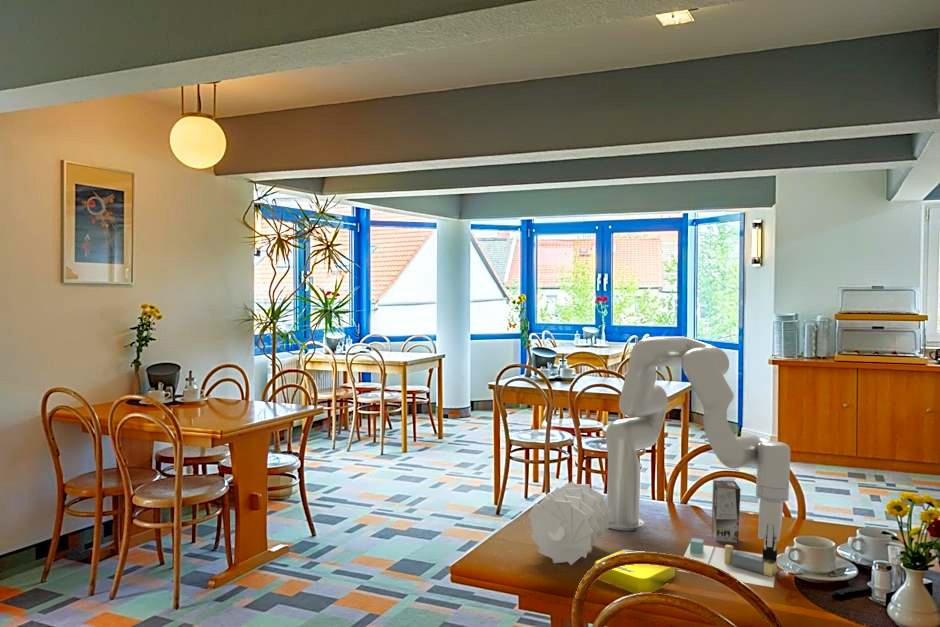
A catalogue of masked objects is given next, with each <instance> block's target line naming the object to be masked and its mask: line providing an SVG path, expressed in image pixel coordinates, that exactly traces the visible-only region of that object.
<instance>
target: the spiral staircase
mask: <svg viewBox="0 0 940 627" xmlns="http://www.w3.org/2000/svg"><path fill="white" fill-rule="evenodd" d="M604 497H605V495H604V494H602V493H600V492H599V491H598V490H595V489H594V488H592V487H591V485H590V484H587V483H584V484H583V483H581V484H580V483H575V482H574V481H573V480H571V481H570V482H568V483H567V484H565V485H563V486H562V487H559V486H556V487H555V489H554V491H553V493H552V494H551V493H550V492H547V493H546V496H544V498H543V499H542V500H541V502H540V504H538V503H537V502H535V503H534V504H533V507H532V508H531V509H530V512H529V514H528V515H527V517H528V518H529V519H530V523H531V527H532V532H531V533H530V535H529V536H530V537H531V539H532V540H533V541H534V542H535V544H536V545H537V546H538V548H539V549H538V552H537V553H538V554H541V555H544V556H545V557H547V558H550V559H552V564H560V563H568V564H569V565H570V566H572V565H573V564H575V563H576V562H577V561H578V560H579V559H580V558H585V559H586V558H587V556H588V553H590V554H591V553H592V550H593V549H594V547H596V546H597V540H599V541H601V540H602V536H604V537H606V534H607V529H608V530H609V529H610V528H609V516H608V513H610V512H611V511H610V509H609V508H608V506H607V502H606V501H605V499H604Z"/></svg>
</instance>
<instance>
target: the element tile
mask: <svg viewBox="0 0 940 627" xmlns="http://www.w3.org/2000/svg"><path fill="white" fill-rule="evenodd" d="M625 552H637V551H636V550H631V549H628V548H627V549H626V548H625V549H621V550H618V551H617V552H614V553H613V552H612V553H610V554H609V555H607V556H604V557H602V558H599V559H597V560H595V561H594V564H593V565H595V564H597V563H598V562H600V561H601V560H603V559H605V558H607V557H609V556H612V555H616V554H620V553H625ZM675 575H676V568H675V569H674V568H670V567H665V566H659V565H650V564H634V565H625V566H620V567H617V568H614V569H612V570H610V571H608V572H606V573H605V574H603V575H602V576H601V577H600V580H604V581H607V582H610V583H612V584H614V585H617V586H619V587H622V588H623V589H625V590H624V591H626V590H627V592H628V593H629V592H630V593H632V594H635V593H640V592H654V593H655V590H658V589H660V588H661V587H662V586H664V585H665V584H666V583H669V582H668V581H669V580H671V579H673V578H675ZM623 589H622V590H623ZM661 589H662V588H661ZM661 589H660V590H661ZM658 591H659V590H658Z"/></svg>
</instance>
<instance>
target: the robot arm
mask: <svg viewBox="0 0 940 627" xmlns="http://www.w3.org/2000/svg"><path fill="white" fill-rule="evenodd" d="M677 366H678V367H680V366H681V368H682V370H683V372H684V374H685V376H686V378H687V380H688V381H689V383H690V385H691V387H692V389H693V390H694V393H695V395H696V396H697V398H698V400H699V402H700V403H701V404H700V405H701V406H702V408H703V427H704V433H705V437H706V440H707V442H708V443H709V445H710V447H711V449H712V452H713V454H715V456H716V458H717V459H718V461H719V462H720V463H721V464H722V465H724V467H726V468H728V469H734V470H735V469H742V468H745V467H750V466H756V479H755V480H756V481H755V482H756V484H755V487H756V490H755V497H756V498H758V499H759V509H758V526H757V527H758V529H757V532H758V533H757V539H759V540H761V539H763V541H764V543H763V547H762V554H763V558H767V559H771V560H775V561H777V562H778V549H777V543H778V542H779V541H780V537H781V532H782V523H783V511H784V510H783V509H784V503H787V502H789V496H790V473H791V472H790V471H791V448H790V445H788V444H787V443H785V442H782V441H774V440H768V439H766V438H763V437H760V436H757V435H752V434H750V435H749V434H748V435H744V436H743V435H741V436H735V434H734V432H733V430H732V429H731V426H730V424H729V421H728V415H727V414H728V408H729V406H730V404H731V403H732V402H733V400H734V399H735V396H734V392H733V391H732V388H731V387H730V385H729V384H728V382H727V380H726V378H725V376H724V375H726V374H727V373H728V371H729V369H730V360H729V357H728V355H727V353H725V351H724V350H722V349H721V348H720V347H717V346H715V345H712V344H709V343H706V342H704V341H703V342H702V341H699V340H696V339H694V338H690V337H687V336H651V337H645V338H642V339H640V340H639V341H637V342H636V343H635V344H634V345H633V347H632V348H631V352H630V355H629V361H628V368H627V371H626V374H625V378H624V381H623V385H622V389H621V393H620V397H619V402H618V408H619V411H620V412H621V414H622V415H624V416H625V417H626V418H620V419H615V420H614V421H613V422H611V423H610V424H609V425H608V426H607V427H606V430H605V443H606V444H605V445H606V451H607V482H606V483H607V485H606V487H607V488H606V489H607V490H606V504H607V506H608V508H609V509H610V511H611V512H610V513H608V516H609V529H612V530H615V531H616V530H617V531H628V532H630V531H633V532H634V531H637V530H638V528H640V527H645V522H644V520H643V519H641V518H640V497H641V496H640V493H641V463H640V459H639V456H638V453H637V450H642V449H643V450H644V449H648V448H650V447H652V446H654V445H655V444H657V442H658V440H659V437H660V434H661V432H662V428H663V425H664V421H665V418H666V415H667V414H666V413H667V410H668V405H669V400H668V395H667V392H666V390H665V388H663V387H662V386H661V385H659V384H656V381H657V377H658V376H657V375H658V374H657V367H662V368H663V367H677ZM627 417H628V418H627Z"/></svg>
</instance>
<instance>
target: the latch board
mask: <svg viewBox="0 0 940 627" xmlns="http://www.w3.org/2000/svg"><path fill="white" fill-rule="evenodd" d="M736 551H738V550H737V549H734V546H733V545H731V544H725V545H724V548H723V547H717V546H712V545H707V544H706V545H705V540H704V539H702V538H695V537H692V538H691V540H690V542H689V544H688V546H687V549H686V550H685V552H684V555H683V557H687V558H690V559H694V560H698V561H701V562H704V563H706V564H709V565H712V566H714V567H716V568H719V569H721V570H723V571H725V572H727V573H729V574H730V575H732V576H734V577H735V578H737V579H738V580H740V581H742V582H741V583H746V584H750V585H756V586H762V587H767V588H772V589H774V587H775V579H776V574H775V575H774V576H772V577H771V576H767V575H764V574H761V573H757V572H754V571H750V570H746V569H743V568H739V567H736V566H732V553H734V552H736ZM739 551H740V552H744V553H748V554H752V555H755V556H759V557H763V553H755V552H749V551H743V550H739ZM676 571H677V572H682V573H688V574H690V573H689V572H686V571H682V570H677V569H676Z"/></svg>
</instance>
